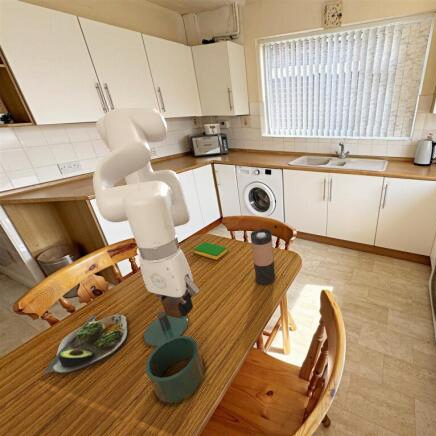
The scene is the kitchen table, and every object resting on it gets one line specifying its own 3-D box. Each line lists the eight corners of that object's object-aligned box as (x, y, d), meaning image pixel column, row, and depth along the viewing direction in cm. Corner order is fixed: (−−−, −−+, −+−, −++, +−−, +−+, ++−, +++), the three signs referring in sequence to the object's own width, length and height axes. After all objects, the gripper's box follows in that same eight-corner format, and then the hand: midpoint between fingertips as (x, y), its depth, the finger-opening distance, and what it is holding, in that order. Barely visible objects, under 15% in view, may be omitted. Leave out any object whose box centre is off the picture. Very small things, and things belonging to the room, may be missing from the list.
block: (166, 315, 58) (161, 301, 56) (178, 302, 62) (174, 289, 60) (181, 318, 57) (176, 304, 55) (192, 305, 60) (189, 292, 59)
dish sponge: (217, 260, 105) (216, 255, 104) (194, 253, 111) (193, 248, 110) (227, 251, 111) (226, 247, 110) (205, 245, 117) (204, 241, 116)
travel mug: (272, 286, 89) (268, 239, 80) (252, 283, 90) (246, 238, 82) (277, 273, 96) (274, 229, 87) (259, 271, 97) (254, 228, 89)
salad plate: (62, 331, 73) (55, 320, 71) (129, 307, 81) (125, 297, 79) (43, 388, 58) (33, 376, 56) (128, 352, 66) (122, 340, 64)
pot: (145, 395, 56) (134, 372, 52) (177, 353, 65) (170, 331, 62) (184, 410, 53) (175, 387, 49) (212, 363, 62) (206, 341, 59)
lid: (135, 342, 69) (127, 326, 66) (166, 311, 79) (160, 296, 76) (169, 352, 66) (162, 336, 63) (196, 318, 76) (192, 303, 73)
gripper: (113, 251, 50) (140, 315, 58) (180, 261, 46) (199, 329, 53) (142, 235, 57) (162, 294, 64) (203, 242, 52) (217, 305, 60)
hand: (179, 309), depth 59 cm, fingers closed on block, 4 cm apart
